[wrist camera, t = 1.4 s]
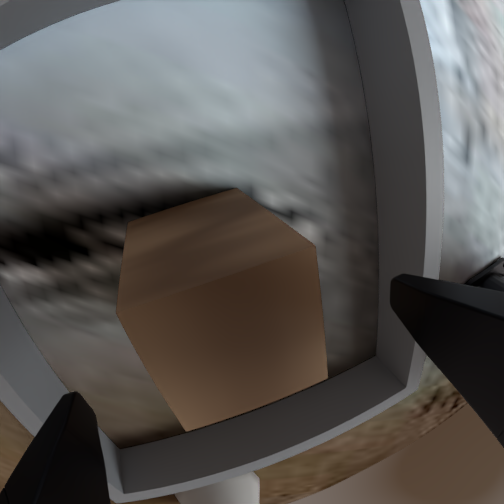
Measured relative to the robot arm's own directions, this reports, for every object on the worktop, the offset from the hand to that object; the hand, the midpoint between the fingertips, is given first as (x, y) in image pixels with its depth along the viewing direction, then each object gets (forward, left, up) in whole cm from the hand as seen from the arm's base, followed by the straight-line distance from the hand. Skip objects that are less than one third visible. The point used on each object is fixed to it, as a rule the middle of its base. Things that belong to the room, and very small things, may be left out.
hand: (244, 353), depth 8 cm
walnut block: (0, 0, -6) cm, 6 cm away
